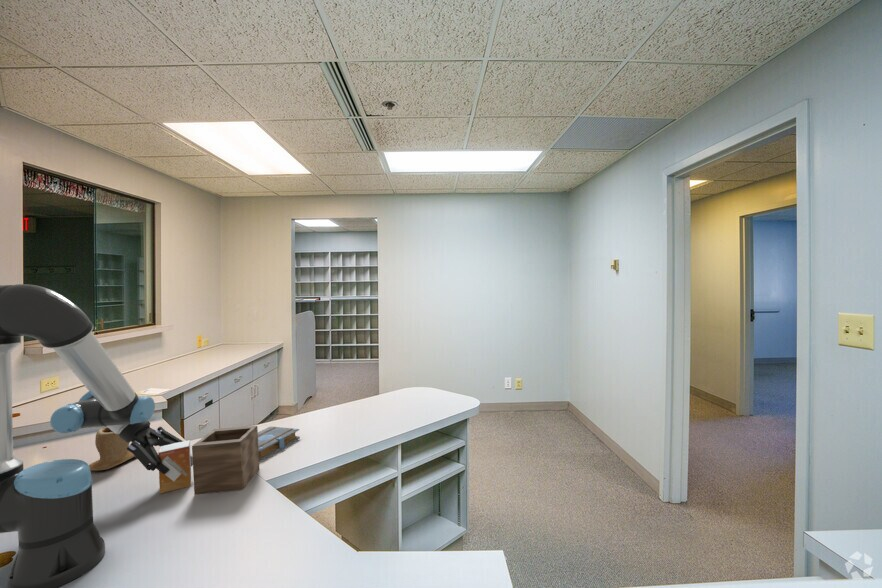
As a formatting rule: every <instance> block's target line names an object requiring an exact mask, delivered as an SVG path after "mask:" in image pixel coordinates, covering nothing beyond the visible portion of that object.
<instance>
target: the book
mask: <svg viewBox="0 0 882 588" xmlns="http://www.w3.org/2000/svg"><path fill="white" fill-rule="evenodd" d="M298 431H300V428H292V427H280V426H271V425H270V426H268V427H266V428H264V429H262V430H260V431H258V450H259V462H260V461H263V460H264V459H266V458H268V457H269V456H271V455H272V454H275V453H277V451H281V450H282V449H285V447H286V446H288V445H290V444H292V443H294V442H296V441H297V440H299V439H300V437H301V436H299V435H297V436H296V433H297V432H298Z"/></svg>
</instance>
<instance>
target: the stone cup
mask: <svg viewBox="0 0 882 588" xmlns="http://www.w3.org/2000/svg"><path fill="white" fill-rule="evenodd" d="M94 443H95V448H96V449H97V452H98V455H99V459H98V460H95V461H94V462H92V463H90V464H88V466H89V467H90V471H95V472H96V471H97V472H98V471H106V470H109V469H110V470H111V468H114V467H117V466H119V465H121V464H123V463H125V462H127V461H129V460H131V459H133V458H136V456H135V455H134V454H133V453H132V452H130V451H128V450H127V447H128V446H129V445H130V444H131V442H129V443H127V442H125V441H124V440H123V439H121V438H120V437H119V434H115V433H114V432H113V431H112V430H110V429H109V428H108V427H107V426H102V428H101V427H100V428H99V429H98V431H96V433H95V441H94Z"/></svg>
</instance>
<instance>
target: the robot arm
mask: <svg viewBox="0 0 882 588" xmlns="http://www.w3.org/2000/svg"><path fill="white" fill-rule="evenodd" d="M93 330H94V323H92V321H91V320H90V318H89V316H88V315H87V314H86V313H85V312H84V311H83V310H82V309H81V308H80V307H78V305H77V304H75V303H74V302H72V301H71V300H70V299H68V298H67V297H65V296H64V295H62V294H60V293H58V292H57V291H55V290H53V289H49V288H47V287H44V286H40V285H35V284H28V283H25V284H24V283H23V284H22V283H21V284H9V285H8V284H6V285H5V284H2V285H1V284H0V534H4V533H12V532H17V537H18V551H17V554H16V557H15V559H14V562H13V565H12V567H11V571H10V573H9V576H8V578H7V588H59V587H62V586H63V585H66V584H68V583H70V582H72V581H74V580H75V579H77V578H80V577H81V576H82V575H84V574H86V573H88V572H89V571H90V570H92V569H93V568H94V567H96V566H97V565H98V564H99V563H100V562H101V560H103V558H104V556H105V554H106V542H105V540H104V539H103V537H101V534H100V533H99V531H98V529H97V527H96V525H95V521H94V509H93V508H94V504H93V487H92V486H93V485H92V484H93V476H92V473H91V470H90V467H89V463H87V462H86V461H84V460H80V459H75V458H65V459H64V458H61V459H55V460H53V461H43V462H41V463H38V464H34V465H31V466H29V467H26V468H25V469H24V460H23V459H21V458H18V457H17V456H15V455H14V439H13V437H14V436H13V435H14V433H13V431H14V430H13V429H14V428H13V382H12V380H13V379H12V376H13V375H12V352H13V350H15V349H16V348H17V347H19V346H20V345H21V344H22V337H23V336H24V337H28V338H29V337H31V338H33V339H36V340H37V341H38V342H39V343H40V344H41V345H42V346H43V347H44V348H47V349H53V350H54V352H55V353H56V354H57V355H58V356H59V357H60V359H61V360H62V361H63V362H64V363H65V364H66V366H67V367H68V368H69V369H70V370H71V371H72V373H74V375H75V376H76V378H77V379H78V380H79V381H80V382H81V383H82V385H84V387H85V388H86V389H87V390H88V391H87V392H86V393H84V394H83V395H82V396H81V397H79V400H78V401H76V402H73V403H68V404H66V405H64V406H61V407H59V408H57V409H56V410H54V411H53V413H52V415H51V416H50V426H51V428H52V429H53V430H54V431H55V432H56V433H60V434H69V433H73V432H77V431H79V430H80V429H88V428H99V427H100V428H101V427H102V428H103V427H105V426H107V427H108V428H109V429H110V430H112V431H113V432H114V433H115V434H119V437H120V438H121V439H123V440H124V441H125V442H127V443H129V442H130V443H129V446H128V447H127V450H128V451H130V452H132V453H133V454H134V455H135V458H136V459H137V460H138V461H139V463H140V464H142V466H143V467H144V468H145V469H146V470H147V471H153V472H154V471H155V470H157V471H158V472H159V471H160V472H162V473H163V474H165V475H166V476H167V477H169V478H170V479H171V480H172V481H175V480H176V479H177V478H178V477H179V476H180V475H181V473H180V472H179V471H178V470H176V469H175V468H174V467H173V466H171V465H170V464H169V463H167V462H166V461H163V462H162V460H161V459H160V457H159V456H158V453H159V452H158V451H157V450H156V449H155V447H157V446H158V447H160V446H164V445H169V444H173V443H178V442H183V441H184V440H183V439H180V438H178V437H177V436H175V435H173V434H172V433H170V432H168V431H167V430H165V428H164V427H162V426H158V427H157V428H156V429H154V428H152V427H150V426H151V422H150V419H152V417H153V414H154V413H155V408H156V405H155V404H156V403H155V400H154V399H153V398H152V397H151V396H149V395H148V396H144V395H142V396H139V395H138V394H137V393H136V392H135V390H134V389H133V387H132V385H130V383H129V381H128V380H127V379H126V378H125V376H124V375H123V374H122V372H121V370H120V369H119V368H118V366H117V365H116V364H115V362H114V361H113V359H112V358H111V357H110V355H109V353H107V351H106V349H105V348H104V347H103V345H102V344H101V343H100V341H99V340H98V338H97V337H96V336H95V334H94V333H93ZM190 458H191V467H193V457H192V453H190Z"/></svg>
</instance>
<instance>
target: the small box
mask: <svg viewBox="0 0 882 588" xmlns="http://www.w3.org/2000/svg"><path fill="white" fill-rule="evenodd" d="M182 441H183V442H178V443H173V444H169V445H164V446H159V450H158V452H157V453H158V456H159V457H160V459H161V460H162V462H163V461H166V462H167V463H169V464H170V465H171V466H173V467H174V468H175V469H176V470H178V471H179V472H180V473H181V475H180V476H179V477H178V478H177V479H176V480H175V481H172V480H171V479H170V478H169V477H167V476H166V475H165V474H163V473H162V472H160V471H159V470H158V476H159V477H158V479H159V481H158V483H159V494H163V493H168V492H171V491H176V490H178V489H183V488H186V487H191V485H192V466H191V458H190V454H191V440H190V439H189V440H182Z"/></svg>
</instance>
